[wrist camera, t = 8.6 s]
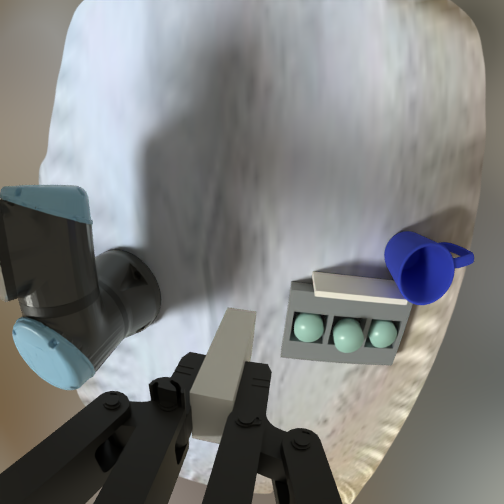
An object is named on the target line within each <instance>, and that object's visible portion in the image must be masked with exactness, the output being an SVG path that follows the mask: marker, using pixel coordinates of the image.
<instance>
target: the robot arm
mask: <svg viewBox="0 0 504 504" xmlns="http://www.w3.org/2000/svg"><path fill="white" fill-rule="evenodd" d="M0 198H1V200H0V299H2V300H4V301H5V302H8V301H11V300H14V299H17V298H18V300H19V304H20V307H21V311H22V317H21V318H19V319H18V320H17V321H16V323H15V324H14V327H13V339H14V342H15V345H16V347H17V349H18V351H19V353H20V354H21V356H22V357H23V359H24V360H25V362H26V363H27V364H28V365H29V366H30V368H31V369H32V370H33V371H34V372H36V373H37V374H38V375H39V376H40V377H41V378H42V379H44V380H45V381H47V382H48V383H50V384H51V385H53V386H56V387H58V388H61V389H64V390H75V389H78V388H80V387H81V386H82V385H83V384H84V383H85V382H86V381H87V380H88V379H89V378H91V377H93V376H94V374H95V372H96V371H97V370H98V369H99V368H100V366H101V365H102V364H103V363H104V362H105V360H106V359H107V358H108V357H109V356H110V354H111V353H112V352H113V351H114V350H115V348H116V347H117V346H118V345H119V344H120V342H121V341H122V340H123V339H124V338H126V337H129V336H131V335H134V334H135V333H138V332H141V331H143V330H144V329H146V328H147V327H148V326H149V325H150V324H151V323H152V322H153V320H154V319H155V318H156V316H157V315H158V312H159V309H160V304H161V296H160V290H159V286H158V284H157V281H156V279H155V277H154V275H153V273H152V272H151V271H150V269H149V268H148V267H147V266H146V265H145V263H143V262H142V261H141V260H140V259H139V258H137V257H136V256H134V255H132V254H131V253H128V252H125V251H121V250H109V251H106V252H104V253H102V254H100V255H98V256H97V257H95V254H94V245H93V234H92V224H93V221H92V220H91V216H90V209H89V199H88V195H87V193H86V191H85V190H84V189H83V188H81V187H79V186H74V185H22V186H5V187H3V188H2V189H1V192H0ZM255 320H256V312H255V311H248V310H241V309H234V308H227V310H226V312H225V315H224V317H223V319H222V321H221V323H220V326H219V328H218V330H217V332H216V335H215V337H214V339H213V341H212V343H211V346H210V348H209V350H208V352H207V355H203V354H198V353H193V352H189V353H188V354H186V355H185V356H183V357H182V358H181V360H180V362H179V364H178V366H177V367H176V369H175V372H174V373H173V375H172V376H171V377H162V378H157V379H155V380H153V381H152V382H151V383H150V384H149V389H150V396H151V401H148V402H132V401H129V399H128V397H127V396H126V395H125V394H123V393H121V392H118V391H109V392H105V393H103V394H101V395H100V396H98V397H97V398H96V399H95V400H93V401H92V402H91V403H90V404H88V405H87V406H86V407H85V408H84V409H82V410H81V411H80V412H78V413H77V414H76V415H75V416H74V417H72V418H71V419H70V420H68V421H67V422H66V423H65V424H63V425H62V426H61V427H60V428H58V429H57V430H56V431H55V432H53V433H52V434H51V435H50V436H48V437H47V438H46V439H45V440H43V441H42V442H41V443H40V444H38V445H37V446H36V447H34V448H33V449H32V450H31V451H29V452H28V453H27V454H25V455H24V456H23V457H22V458H20V459H19V460H18V461H16V462H15V463H14V464H13V465H11V466H10V467H9V468H7V469H6V470H5V471H3V472H2V473H1V474H0V504H85V503H86V502H87V501H88V500H89V499H90V498H91V497H92V496H93V495H94V494H95V493H96V492H97V491H98V490H99V489H100V488H101V487H102V486H103V487H102V489H101V491H100V492H99V495H98V496H97V498H96V500H95V502H94V503H93V504H168V502H169V499H170V496H171V494H172V491H173V489H174V486H175V483H176V480H177V478H178V475H179V473H180V470H181V467H182V465H183V462H184V459H185V457H186V454H187V451H188V449H189V437H190V435H191V432H192V438H195V439H199V440H204V441H208V442H213V443H218V444H219V448H218V451H217V455H216V458H215V462H214V465H213V468H212V472H211V475H210V478H209V482H208V485H207V488H206V492H205V495H204V499H203V502H202V504H251V503H252V498H253V492H254V486H255V481H256V475H257V473H258V474H261V475H263V476H265V477H268V478H270V479H272V484H273V489H274V494H275V500H276V504H342V501H341V498H340V495H339V492H338V489H337V486H336V483H335V481H334V478H333V475H332V472H331V469H330V466H329V463H328V460H327V458H326V455H325V452H324V449H323V446H322V443H321V440H320V439H319V437H318V435H317V434H315V433H314V432H313V431H311V430H308V429H304V428H296V429H292V430H290V431H288V432H286V431H283V430H281V429H278V428H276V427H274V426H273V425H272V424H271V423H270V422H269V421H268V419H267V417H266V409H267V402H268V395H269V388H270V380H271V373H272V372H271V370H270V368H269V366H268V364H262V363H255V362H250V359H251V355H252V347H253V338H254V329H255Z"/></svg>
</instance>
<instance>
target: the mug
mask: <svg viewBox="0 0 504 504" xmlns="http://www.w3.org/2000/svg"><path fill="white" fill-rule="evenodd" d="M450 252H452V253H455V254H457V255H459V256H461V257H457V258H453V257H452V255H451V253H450ZM384 256H385V263H386V266H387V268H388V270H389V271H390V273H391V275H392V277H393V279H394V281H395V283H396V285H397V287H398V288H399V290H400V292H401V294H402V296H403V297H404V298H405V299H406V300H407V301H409V302H411V303H413V304H416V305H426V304H430V303H433V302H435V301H436V300H438V299H439V298H441V297H442V296H443V295H444V294H445V293H446V291H447V290H448V289H449V287H450V285H451V283H452V280H453V277H454V271H455V268H461V267H464V266H467V265H470V264H472V263H473V262H474V255H473V253H472V252H471V251H469V250H467V249H465V248H463V247H460V246H458V245H455V244H452V243H447V242H441V243H437V242H435V241H432V240H430V239H428V238H426V237H424V236H421V235H419V234H417V233H414V232H410V231H404V232H400V233H398V234H396V235H394V236H393V237H392V238H391V239H390V240H389V242H388V244H387V246H386V248H385V254H384Z"/></svg>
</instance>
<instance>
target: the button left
mask: <svg viewBox="0 0 504 504" xmlns="http://www.w3.org/2000/svg"><path fill="white" fill-rule="evenodd" d="M323 330H324V329H323V321H322V316H321V314H314V313H305V312H298V313H297V314H296V315H295V318H294V333H295V335H296V337H297V338H298V339H299V340H301V341H303V342H313V341H316V340H317V339H319V338H320V337H321V336H322V334H323Z"/></svg>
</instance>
